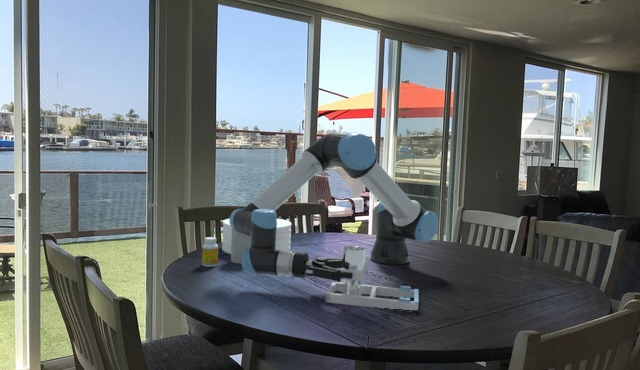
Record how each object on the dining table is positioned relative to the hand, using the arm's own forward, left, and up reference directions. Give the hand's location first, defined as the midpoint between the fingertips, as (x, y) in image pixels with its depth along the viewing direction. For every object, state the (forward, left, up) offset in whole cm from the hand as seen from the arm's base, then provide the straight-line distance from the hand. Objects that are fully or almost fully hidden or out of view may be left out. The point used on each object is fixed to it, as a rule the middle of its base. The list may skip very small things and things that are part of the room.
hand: (366, 271), depth 149 cm
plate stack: (+17, -71, -9) cm, 73 cm away
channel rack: (-2, +1, -9) cm, 9 cm away
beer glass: (+3, -2, -9) cm, 10 cm away
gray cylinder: (+26, -52, -9) cm, 59 cm away
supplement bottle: (+39, -47, -9) cm, 62 cm away
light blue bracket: (-11, +6, -8) cm, 15 cm away
